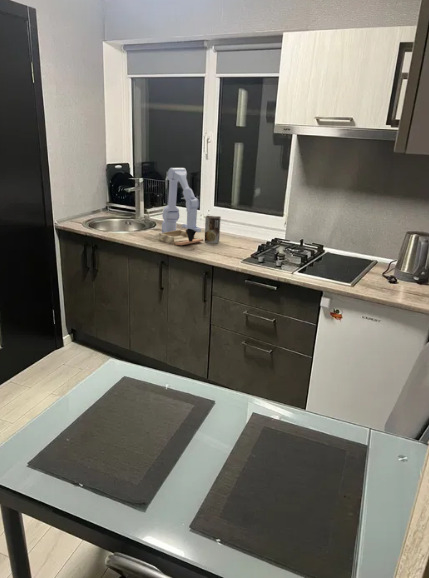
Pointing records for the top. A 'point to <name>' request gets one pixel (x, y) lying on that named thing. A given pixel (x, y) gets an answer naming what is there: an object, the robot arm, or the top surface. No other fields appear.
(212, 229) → the coffee box
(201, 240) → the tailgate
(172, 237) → the cart bed
